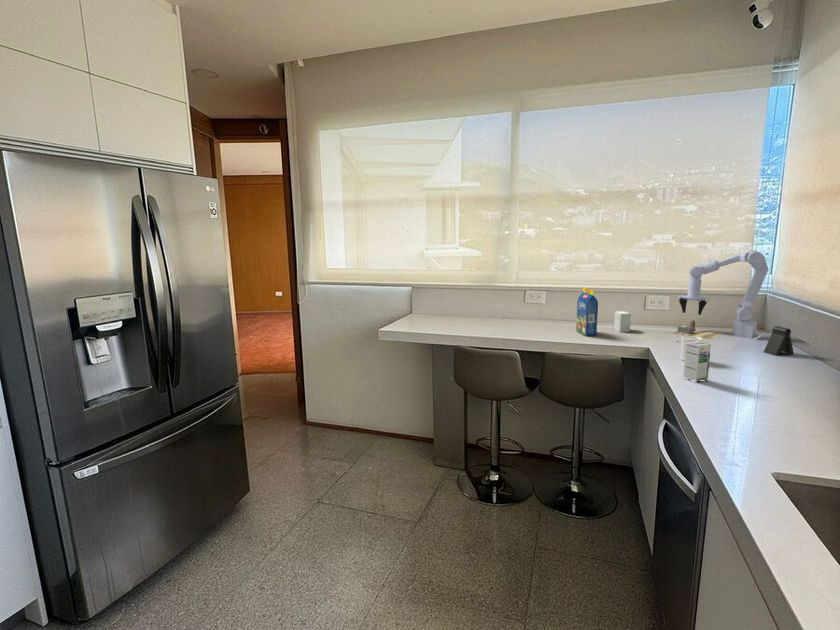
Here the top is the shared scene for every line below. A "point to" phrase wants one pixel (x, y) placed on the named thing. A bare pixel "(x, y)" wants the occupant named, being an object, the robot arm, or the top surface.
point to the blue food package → (587, 313)
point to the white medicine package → (684, 340)
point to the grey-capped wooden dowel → (692, 324)
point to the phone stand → (779, 342)
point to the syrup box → (697, 360)
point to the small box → (622, 321)
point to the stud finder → (685, 329)
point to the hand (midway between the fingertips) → (691, 313)
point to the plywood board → (700, 334)
